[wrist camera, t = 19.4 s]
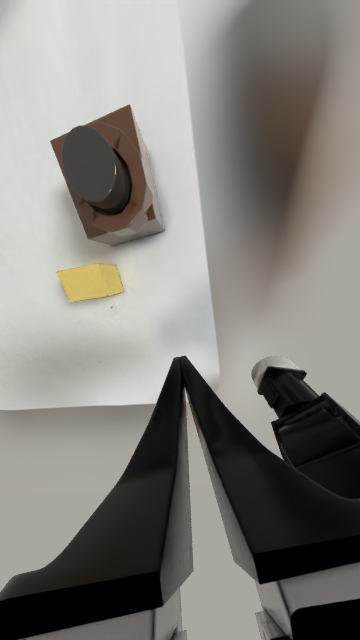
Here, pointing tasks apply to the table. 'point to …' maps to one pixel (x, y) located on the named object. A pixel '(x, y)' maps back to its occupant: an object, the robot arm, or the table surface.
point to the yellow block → (90, 281)
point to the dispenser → (143, 202)
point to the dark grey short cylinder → (95, 170)
